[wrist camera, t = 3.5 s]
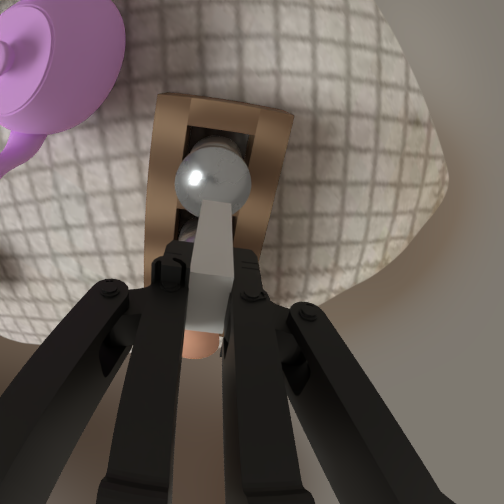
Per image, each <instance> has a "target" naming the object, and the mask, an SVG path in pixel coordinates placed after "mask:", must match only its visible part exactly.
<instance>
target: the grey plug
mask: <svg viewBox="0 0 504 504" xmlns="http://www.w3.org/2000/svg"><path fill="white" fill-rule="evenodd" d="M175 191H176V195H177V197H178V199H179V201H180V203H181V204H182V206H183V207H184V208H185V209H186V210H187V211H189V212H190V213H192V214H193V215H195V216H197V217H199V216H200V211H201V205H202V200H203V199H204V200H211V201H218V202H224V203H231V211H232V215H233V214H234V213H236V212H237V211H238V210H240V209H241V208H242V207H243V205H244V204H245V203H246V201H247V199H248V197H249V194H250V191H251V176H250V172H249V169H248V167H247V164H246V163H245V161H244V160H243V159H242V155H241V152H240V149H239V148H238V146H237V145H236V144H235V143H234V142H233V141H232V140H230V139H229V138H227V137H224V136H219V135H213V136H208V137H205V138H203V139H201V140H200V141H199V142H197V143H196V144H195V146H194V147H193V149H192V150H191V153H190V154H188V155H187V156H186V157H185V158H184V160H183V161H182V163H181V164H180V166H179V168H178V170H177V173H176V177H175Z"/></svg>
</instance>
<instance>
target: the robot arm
mask: <svg viewBox="0 0 504 504" xmlns="http://www.w3.org/2000/svg"><path fill="white" fill-rule="evenodd" d="M258 264H259V263H258V257H257V255H256V254H255V253H254V252H253V251H252V250H250V249H242V248H235V247H233V239H232V211H231V203H224V202H218V201H211V200H204V199H203V200H202V205H201V211H200V216H199V221H198V226H197V232H196V237H195V243H192V242H185V241H178V240H172V241H171V242H170V243H169V244H167V245H166V248H165V252H164V255H163V256H160V257H158V258H156V259H154V260H153V262H152V263H151V285H149V286H148V287H145V288H141V289H131V290H128V286H127V285H126V284H125V283H124V282H122V281H120V280H117V279H104V280H101V281H99V282H97V283H96V284H95V285H94V286H93V287H92V288H91V289H90V290H89V291H88V292H87V293H86V294H85V295H84V296H83V297H82V298H81V300H80V301H79V302H78V303H77V304H76V305H75V306H74V307H73V308H72V309H71V311H70V312H69V313H68V314H67V315H66V316H65V317H64V318H63V320H62V321H61V322H60V323H59V324H58V325H57V326H56V328H55V329H54V330H53V331H52V332H51V333H50V335H49V336H48V337H47V338H46V339H45V341H44V342H43V343H42V344H41V345H40V347H39V348H38V349H37V350H36V352H35V353H34V354H33V355H32V357H31V358H30V359H29V360H28V361H27V363H26V364H25V365H24V366H23V368H22V369H21V370H20V372H19V373H18V374H17V376H16V377H15V378H14V379H13V381H12V382H11V383H10V385H9V386H8V387H7V389H6V390H5V391H4V393H3V394H2V395H1V397H0V504H46V502H47V500H48V498H49V496H50V493H51V492H52V490H53V488H54V486H55V484H56V482H57V480H58V478H59V476H60V474H61V472H62V470H63V468H64V466H65V464H66V462H67V461H68V459H69V457H70V455H71V453H72V451H73V449H74V447H75V446H76V444H77V442H78V440H79V438H80V436H81V435H82V432H83V431H84V429H85V427H86V425H87V424H88V422H89V420H90V418H91V416H92V415H93V413H94V411H95V409H96V408H97V406H98V404H99V402H100V400H101V399H102V397H103V395H104V394H105V392H106V390H107V389H108V387H109V385H110V383H111V382H112V380H113V378H114V377H115V375H116V373H117V372H118V370H119V368H120V367H121V365H122V363H123V361H124V360H125V358H126V357H127V355H128V353H129V352H130V350H131V348H132V345H133V348H132V352H131V356H130V361H129V365H128V368H127V372H126V377H125V381H124V385H123V390H122V394H121V399H120V404H119V408H118V413H117V418H116V423H115V428H114V433H113V439H112V445H111V450H110V456H109V462H108V469H107V473H106V476H105V477H104V478H103V479H102V480H101V483H100V485H99V489H98V493H97V500H96V504H172V486H173V464H174V445H175V430H176V417H177V404H178V393H179V382H180V371H181V362H182V352H183V343H184V332H185V330H192V331H200V332H209V333H218V334H223V330H224V337H223V342H222V347H221V352H220V357H222V392H223V393H222V394H223V396H222V397H223V444H224V476H225V501H226V504H315V502H314V498H313V497H312V495H311V493H310V492H309V491H307V490H306V489H305V488H304V487H303V485H302V481H301V476H300V469H299V463H298V457H297V451H296V446H295V440H294V434H293V428H292V422H291V416H290V411H289V405H288V399H287V396H288V398H289V400H290V402H291V404H292V406H293V408H294V410H295V413H296V415H297V417H298V419H299V421H300V423H301V425H302V427H303V430H304V432H305V434H306V436H307V438H308V440H309V442H310V444H311V446H312V448H313V450H314V452H315V454H316V456H317V458H318V461H319V462H320V465H321V467H322V469H323V471H324V473H325V475H326V477H327V479H328V481H329V482H330V485H331V487H332V489H333V491H334V493H335V495H336V497H337V499H338V501H339V503H340V504H455V503H454V502H453V501H452V500H450V499H449V498H448V497H447V496H445V495H444V494H443V493H442V492H441V491H440V490H439V488H438V487H437V485H436V483H435V482H434V480H433V478H432V477H431V475H430V473H429V472H428V470H427V469H426V467H425V466H424V464H423V462H422V461H421V459H420V457H419V456H418V454H417V453H416V451H415V449H414V448H413V446H412V445H411V443H410V442H409V440H408V439H407V437H406V435H405V434H404V433H403V431H402V429H401V427H400V426H399V424H398V423H397V421H396V420H395V418H394V417H393V415H392V414H391V412H390V410H389V409H388V407H387V406H386V404H385V403H384V401H383V400H382V398H381V397H380V395H379V393H378V392H377V391H376V389H375V387H374V386H373V384H372V383H371V382H370V380H369V378H368V377H367V375H366V374H365V372H364V371H363V369H362V368H361V366H360V365H359V363H358V362H357V360H356V359H355V357H354V356H353V354H352V353H351V351H350V350H349V348H348V347H347V345H346V344H345V342H344V341H343V340H342V338H341V337H340V335H339V334H338V332H337V331H336V329H335V328H334V326H333V325H332V323H331V322H330V320H329V319H328V318H327V316H326V314H325V313H324V312H323V311H322V310H321V309H320V308H319V307H318V306H316V305H314V304H312V303H308V302H297V303H295V304H293V305H292V306H291V308H290V309H288V308H285V307H282V306H279V305H277V304H275V303H273V302H271V301H270V298H269V296H268V294H267V292H265V291H264V290H263V287H262V281H261V275H260V271H259V265H258Z"/></svg>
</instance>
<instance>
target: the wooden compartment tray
mask: <svg viewBox="0 0 504 504" xmlns="http://www.w3.org/2000/svg"><path fill="white" fill-rule="evenodd" d="M293 120H294V115H292V114H290V113H288V112H286V111H284V110H279V109H275V108H270V107H265V106H260V105H255V104H249V103H244V102H238V101H232V100H226V99H219V98H212V97H205V96H197V95H189V94H180V93H169V92H167V93H162V94H158V96H157V102H156V109H155V116H154V124H153V132H152V141H151V150H150V160H149V171H148V183H147V197H146V215H145V240H144V288H145V287H148V286H149V285H151V263H152V262H153V260H154V259H156V258H158V257H160V256H163V255H164V252H165V248H166V245H167V244H169V243H170V242H171V241H172V240H179V238H178V229H179V219H180V209H185V208H184V207H183V206H182V204H181V203H180V201H179V199H178V197H177V195H176V191H175V177H176V173H177V170H178V168H179V166H180V164H181V163H182V161H183V160H184V158H185V157H186V156H187V154H188V147H189V140H190V134H191V127H192V126H198V127H205V128H212V129H219V130H226V131H232V132H238V133H244V134H249V138H248V143H247V148H246V153H245V158H244V161H245V163H246V164H247V167H248V169H249V172H250V176H251V191H250V194H249V197H248V199H247V201H246V203H245V204H244V205H243V207H242V208H241V209H240V210H238V211H237V212H236V213H234V214H233V215H232V216H233V218H232V239H233V247H235V248H242V249H250V250H252V251H253V252H254V253H255V254H256V255H257V257H258V262H259V258H260V254H261V250H262V246H263V242H264V238H265V234H266V230H267V226H268V222H269V218H270V214H271V210H272V206H273V201H274V197H275V193H276V189H277V185H278V181H279V177H280V173H281V169H282V165H283V161H284V157H285V153H286V148H287V144H288V140H289V136H290V132H291V128H292V124H293ZM219 336H221V337H224V330H223V334H219Z"/></svg>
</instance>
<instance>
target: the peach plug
mask: <svg viewBox="0 0 504 504" xmlns="http://www.w3.org/2000/svg"><path fill="white" fill-rule="evenodd" d="M218 346H219V334H218V333H209V332H200V331H192V330H185V332H184V343H183V352H182V357H184V358H190V359H201V358H205V357H208V356H210V355H212V354H213V353H214V352H215V351H216V350H217V349H218Z"/></svg>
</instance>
